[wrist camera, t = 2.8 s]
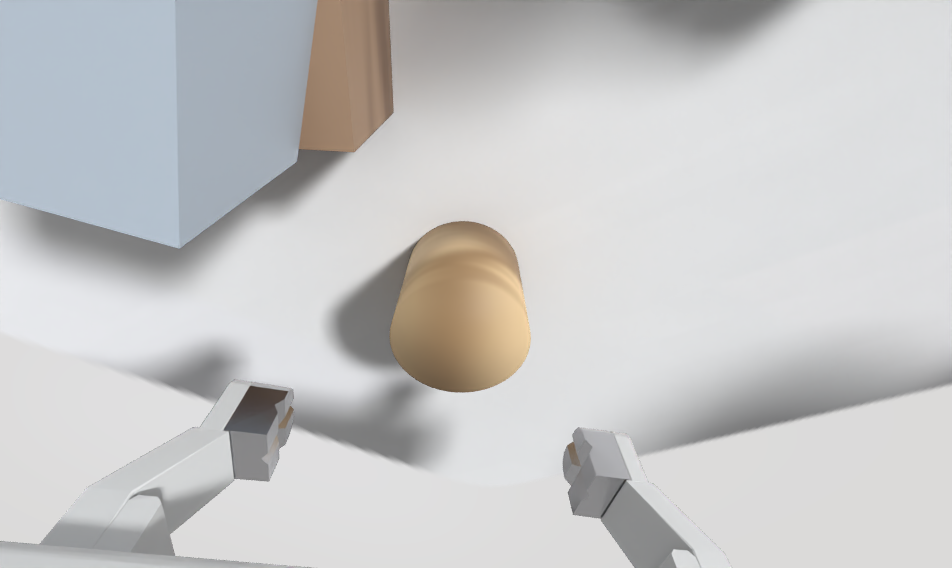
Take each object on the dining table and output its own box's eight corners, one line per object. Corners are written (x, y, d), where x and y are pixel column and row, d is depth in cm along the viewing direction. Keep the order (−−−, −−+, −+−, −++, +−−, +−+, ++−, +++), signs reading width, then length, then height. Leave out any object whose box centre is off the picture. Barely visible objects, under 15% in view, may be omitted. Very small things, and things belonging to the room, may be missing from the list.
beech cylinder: (531, 234, 18) (548, 296, 14) (503, 324, 21) (509, 401, 17) (417, 210, 18) (399, 268, 13) (402, 306, 20) (382, 381, 16)
